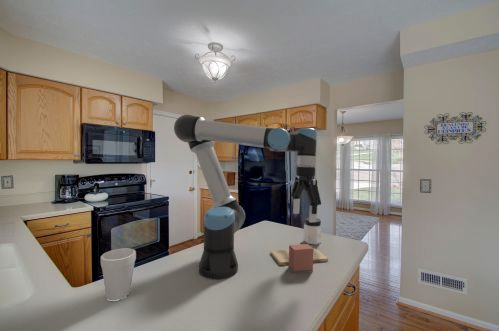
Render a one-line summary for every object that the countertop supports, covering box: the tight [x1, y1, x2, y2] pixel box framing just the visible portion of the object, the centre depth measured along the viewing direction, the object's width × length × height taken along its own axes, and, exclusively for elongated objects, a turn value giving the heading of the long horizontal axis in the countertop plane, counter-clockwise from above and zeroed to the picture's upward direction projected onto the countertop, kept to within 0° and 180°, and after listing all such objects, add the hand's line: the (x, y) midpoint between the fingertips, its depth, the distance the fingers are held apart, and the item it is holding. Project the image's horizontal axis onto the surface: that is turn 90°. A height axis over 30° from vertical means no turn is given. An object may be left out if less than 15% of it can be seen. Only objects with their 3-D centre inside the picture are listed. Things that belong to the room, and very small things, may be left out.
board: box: [270, 247, 329, 266], centre depth 102 cm, size 22×12×1 cm, turn 103°
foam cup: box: [100, 247, 137, 300], centre depth 71 cm, size 10×9×13 cm
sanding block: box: [288, 243, 314, 274], centre depth 90 cm, size 8×5×9 cm, turn 103°
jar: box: [303, 217, 322, 246], centre depth 122 cm, size 9×8×12 cm
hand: (303, 217), depth 94 cm, fingers open, 13 cm apart
